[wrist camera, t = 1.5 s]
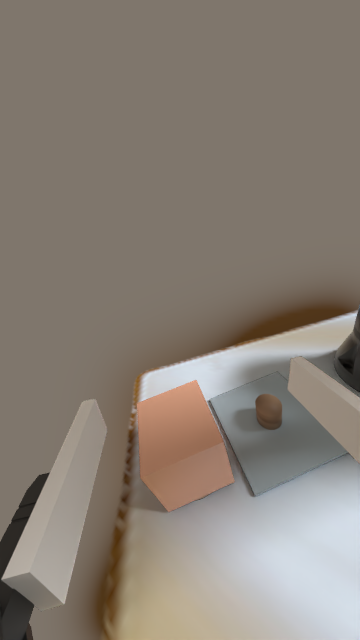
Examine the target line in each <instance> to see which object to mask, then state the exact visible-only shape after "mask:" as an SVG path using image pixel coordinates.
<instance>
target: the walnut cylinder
mask: <svg viewBox="0 0 360 640" xmlns="http://www.w3.org/2000/svg"><path fill="white" fill-rule="evenodd" d="M255 405H256V416H257V421H258V422H259V424H260V425H261V426H262V427H264V428H266V429H268V430H276V429H278V428H279V427H280V426H281V424H282V404H281V402H280V400H279V399H278V398H277V397H275V396H273V395H271V394H262V395H259V396H258V397H257V398H256V401H255Z"/></svg>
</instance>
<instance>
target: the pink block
mask: <svg viewBox="0 0 360 640" xmlns="http://www.w3.org/2000/svg"><path fill="white" fill-rule="evenodd" d="M137 411H138V434H139V458H140V478H141V480H142V481H143V482H144V483H145V484H146V485H147V487H148V488H149V489H150V490H151V491H152V493H153V494H154V495H155V496H156V497H157V499H158V500H159V501H160V502H161V503H162V505H163V506H164V507H165V508H166V509H167V511H168V512H171V511H173V510H175V509H177V508H179V507H181V506H184V505H186V504H188V503H190V502H192V501H194V500H197V499H199V498H201V497H203V496H205V495H208V494H210V493H212V492H214V491H216V490H218V489H221V488H223V487H225V486H227V485H229V484H231V483H234V482H235V481H234V477H233V474H232V470H231V466H230V463H229V459H228V455H227V451H226V448H225V444H224V441H223V439H222V436H221V434H220V432H219V430H218V427H217V425H216V423H215V421H214V418H213V416H212V414H211V412H210V410H209V407H208V405H207V403H206V401H205V398H204V396H203V394H202V392H201V389H200V387H199V385H198V383H197V380H195V381H192V382H190V383H187V384H184V385H182V386H179V387H177V388H174V389H172V390H169V391H167V392H164V393H162V394H159V395H157V396H154V397H152V398H149V399H147V400H144V401H142V402H139V403H137Z"/></svg>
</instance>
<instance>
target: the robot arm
mask: <svg viewBox="0 0 360 640" xmlns="http://www.w3.org/2000/svg"><path fill="white" fill-rule="evenodd" d="M334 365H335V369H336V371H337V373H338V374H339V376H340V377H341V378H342V379H343V380H344V381H345V382H346V383H347V384H349V385H350V386H351V387H353V388H354V389H356V390H357V391H359V392H360V305H359V309H358V313H357V317H356V321H355V325H354V329H353V332H352V333H351V334H350V335H349V336H348V338H347V339H346V340H345V341H344V342H343V343H342V345H341V346H340V347H339V348H338V350H337V352H336V355H335V360H334ZM288 391H289V392H290V393H291V394H292V395H293V396H294V397H295V398H296V399H297V400H298V401H299V402H300V403H301V404H302V405H303V406H304V407H305V408H306V409H307V410H308V411H309V412H310V413H311V414H312V415H313V416H314V417H315V418H316V420H317V421H318V422H319V423H320V424H321V425H322V426H323V427H324V428H325V429H326V430H327V431H328V432H329V433H330V434H331V435H332V436H333V437H334V438H335V439H336V440H337V441H338V442H339V443H340V444H341V445H342V446H343V447H344V448H345V449H346V450H347V451H348V452H349V453H350V455H351V456H352V457H353V458H354V459H355V460H356V461H357V462H358V463H359V464H360V397H358V396H357V395H355V394H354V393H353V392H351V391H350V390H348V389H347V388H345V387H344V386H343V385H341V384H340V383H338V382H337V381H336V380H334V379H333V378H331V377H330V376H329V375H327V374H326V373H324V372H323V371H322V370H320V369H319V368H317V367H316V366H315V365H313V364H312V363H310V362H309V361H307V360H306V359H305V358H303V357H302V356H300V357H295V358H291V363H290V372H289V381H288ZM106 434H107V428H106V425H105V422H104V420H103V417H102V415H101V412H100V410H99V407H98V405H97V402H96V400H95V399H92V400H87V401H83V402H82V404H81V406H80V408H79V410H78V412H77V415H76V417H75V419H74V421H73V423H72V426H71V428H70V430H69V432H68V434H67V437H66V439H65V441H64V443H63V445H62V448H61V450H60V452H59V454H58V456H57V459H56V461H55V463H54V465H53V467H52V470H51V472H50V473H47V474H42V475H39V476H38V477H37V478H36V480H35V481H34V482H33V484H32V485H31V486H30V487H29V488H28V490H27V491H26V493H25V495H24V497H23V499H22V501H21V503H20V505H19V509H18V510H17V511H16V513H15V515H14V517H13V518H12V522H11V524H9V526H8V528H7V530H6V532H5V534H4V536H3V538H2V540H1V542H0V640H33V636H32V630H31V626H30V624H29V620H30V617H31V614H32V611H33V608H34V606H35V607H36V608H38V609H39V610H40V611H44V610H48V609H51V608H55V607H58V606H61V605H64V604H65V600H66V596H67V592H68V587H69V584H70V580H71V576H72V572H73V568H74V564H75V560H76V556H77V552H78V547H79V543H80V539H81V535H82V531H83V527H84V523H85V519H86V515H87V511H88V507H89V502H90V499H91V494H92V491H93V486H94V482H95V478H96V474H97V470H98V466H99V462H100V458H101V454H102V450H103V445H104V442H105V438H106Z"/></svg>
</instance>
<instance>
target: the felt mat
mask: <svg viewBox="0 0 360 640" xmlns="http://www.w3.org/2000/svg"><path fill="white" fill-rule="evenodd" d="M262 394H271V395H273V396H275V397H277V398H278V399H279V400H280V402H281V404H282V424H281V426H280V427H279V428H278V429H276V430H268V429H266V428H264V427H262V426H261V425H260V424H259V422H258V421H257V416H256V405H255V401H256V398H257V397H258V396H259V395H262ZM210 402H211V404H212V406H213V408H214V410H215V412H216V414H217V416H218V418H219V421H220V423H221V425H222V427H223V429H224V431H225V433H226V435H227V438H228V440H229V442H230V444H231V446H232V448H233V450H234V452H235V454H236V457H237V459H238V461H239V463H240V465H241V467H242V469H243V471H244V474H245V476H246V478H247V480H248V482H249V484H250V486H251V488H252V490H253V493H254V495H255V497H256V496H258V495H260V494H262V493H264V492H266V491H268V490H270V489H273V488H275V487H277V486H279V485H281V484H283V483H285V482H287V481H289V480H292V479H294V478H296V477H298V476H300V475H302V474H304V473H306V472H308V471H311V470H313V469H315V468H317V467H319V466H321V465H323V464H325V463H327V462H329V461H332V460H334V459H336V458H338V457H340V456H342V455H344V454H346V453H348V451H347V450H346V449H345V448H344V447H343V446H342V445H341V444H340V443H339V442H338V441H337V440H336V439H335V438H334V437H333V436H332V435H331V434H330V433H329V432H328V431H327V430H326V429H325V428H324V427H323V426H322V425H321V424H320V423H319V422H318V421H317V420H316V418H315V417H314V416H313V415H312V414H311V413H310V412H309V411H308V410H307V409H306V408H305V407H304V406H303V405H302V404H301V403H300V402H299V401H298V400H297V399H296V398H295V397H294V396H293V395H292V394H291V393H290V392H289V391H288V381H287V380H286V379H285V378H284V377H283V376H282V375H281V374H280V373H278V372H275V373H272V374H270V375H267V376H265V377H262V378H260V379H258V380H255V381H253V382H250V383H248V384H245V385H243V386H240V387H238V388H236V389H233V390H231V391H228V392H226V393H223V394H221V395H218V396H216V397H214V398H211V399H210Z"/></svg>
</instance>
